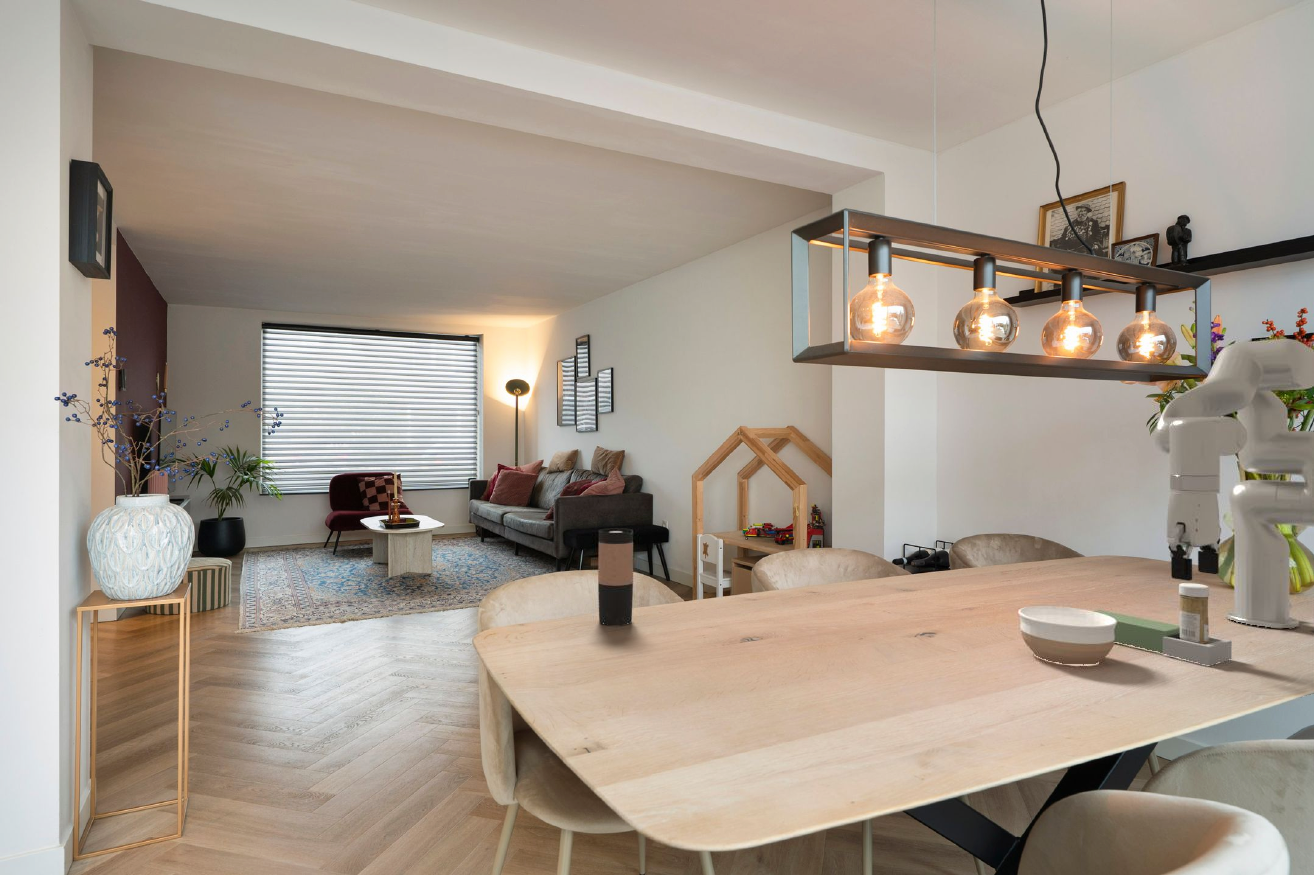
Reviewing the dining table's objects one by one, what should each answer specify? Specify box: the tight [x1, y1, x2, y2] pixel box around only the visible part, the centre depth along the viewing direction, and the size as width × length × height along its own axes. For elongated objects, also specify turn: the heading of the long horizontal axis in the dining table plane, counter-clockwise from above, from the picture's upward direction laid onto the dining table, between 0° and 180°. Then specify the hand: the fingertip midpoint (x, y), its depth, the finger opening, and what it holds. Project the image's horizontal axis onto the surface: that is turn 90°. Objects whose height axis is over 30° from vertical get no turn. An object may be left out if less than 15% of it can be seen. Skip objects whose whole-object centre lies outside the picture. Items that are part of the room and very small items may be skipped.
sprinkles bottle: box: [1178, 582, 1210, 645], centre depth 138 cm, size 5×5×14 cm
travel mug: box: [597, 528, 634, 626], centre depth 162 cm, size 8×8×20 cm
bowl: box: [1017, 605, 1117, 665], centre depth 137 cm, size 16×16×8 cm
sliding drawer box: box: [1092, 609, 1233, 666], centre depth 144 cm, size 8×24×4 cm, turn 30°
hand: (1195, 576), depth 138 cm, fingers open, 9 cm apart
